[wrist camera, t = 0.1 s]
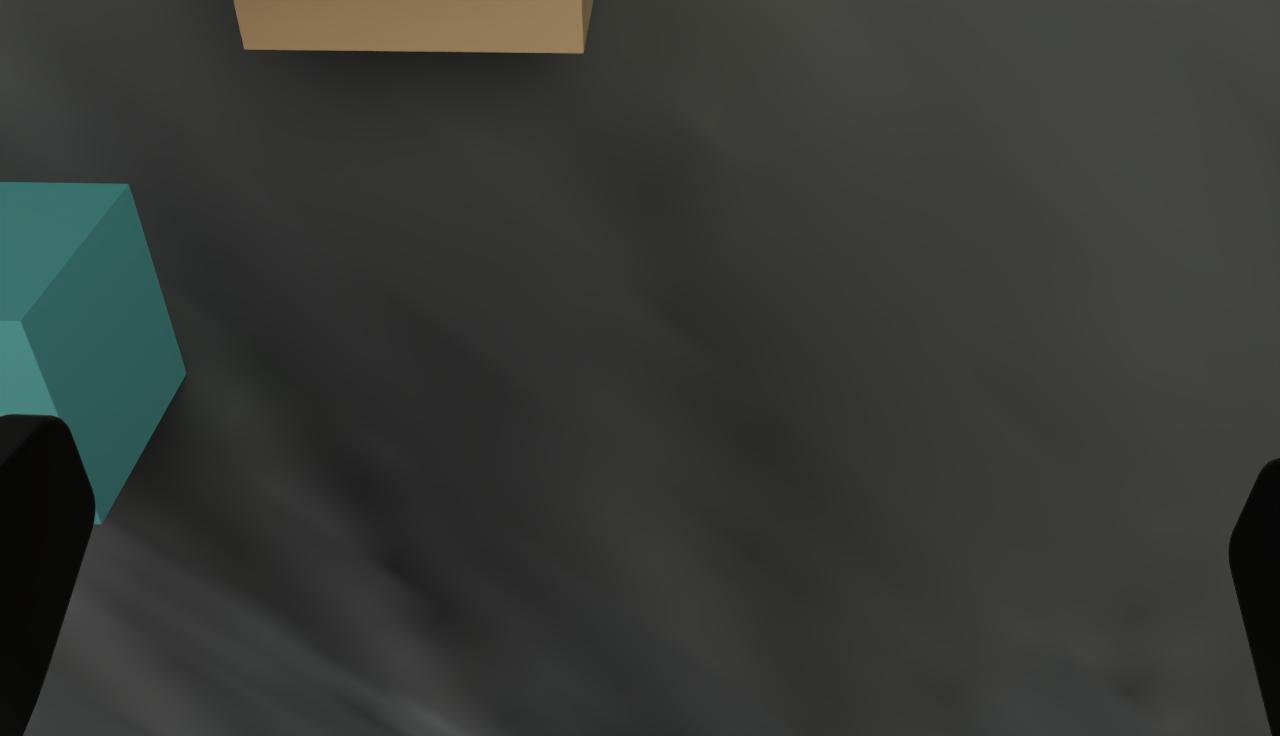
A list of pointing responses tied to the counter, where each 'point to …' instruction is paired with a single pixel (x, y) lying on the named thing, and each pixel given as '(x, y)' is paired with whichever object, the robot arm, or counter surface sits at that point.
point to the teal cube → (84, 323)
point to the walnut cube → (415, 25)
